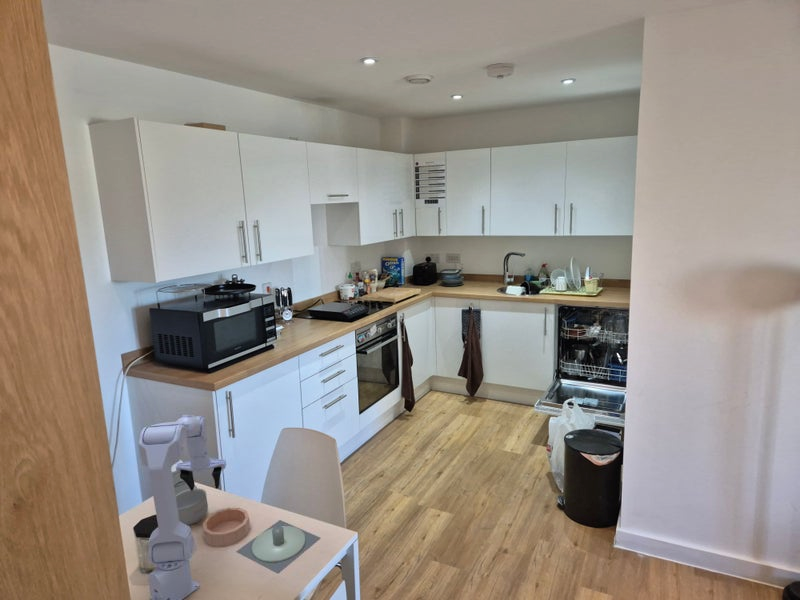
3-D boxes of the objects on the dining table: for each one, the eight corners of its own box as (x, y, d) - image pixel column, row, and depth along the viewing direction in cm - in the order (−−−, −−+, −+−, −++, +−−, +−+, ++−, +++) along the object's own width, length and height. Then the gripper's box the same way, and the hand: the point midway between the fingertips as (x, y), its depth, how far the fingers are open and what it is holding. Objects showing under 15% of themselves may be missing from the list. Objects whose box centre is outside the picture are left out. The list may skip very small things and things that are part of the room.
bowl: (223, 553, 147) (221, 539, 146) (195, 538, 154) (193, 525, 153) (258, 528, 157) (257, 515, 157) (230, 516, 164) (229, 503, 164)
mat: (278, 575, 138) (277, 573, 137) (236, 553, 147) (236, 551, 147) (320, 539, 151) (320, 537, 151) (280, 521, 161) (280, 519, 161)
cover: (278, 569, 139) (276, 554, 138) (241, 550, 147) (239, 535, 146) (316, 538, 151) (314, 524, 150) (279, 522, 159) (278, 508, 158)
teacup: (201, 530, 158) (198, 506, 156) (166, 530, 158) (162, 507, 157) (217, 503, 172) (215, 481, 170) (185, 504, 172) (182, 482, 170)
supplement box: (169, 509, 169) (164, 474, 167) (162, 500, 175) (157, 466, 172) (192, 500, 174) (187, 466, 172) (184, 491, 180) (180, 458, 177)
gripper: (225, 441, 162) (231, 476, 167) (178, 445, 160) (185, 480, 165) (220, 456, 155) (226, 492, 160) (170, 459, 154) (178, 496, 159)
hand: (205, 487), depth 162 cm, fingers open, 7 cm apart
